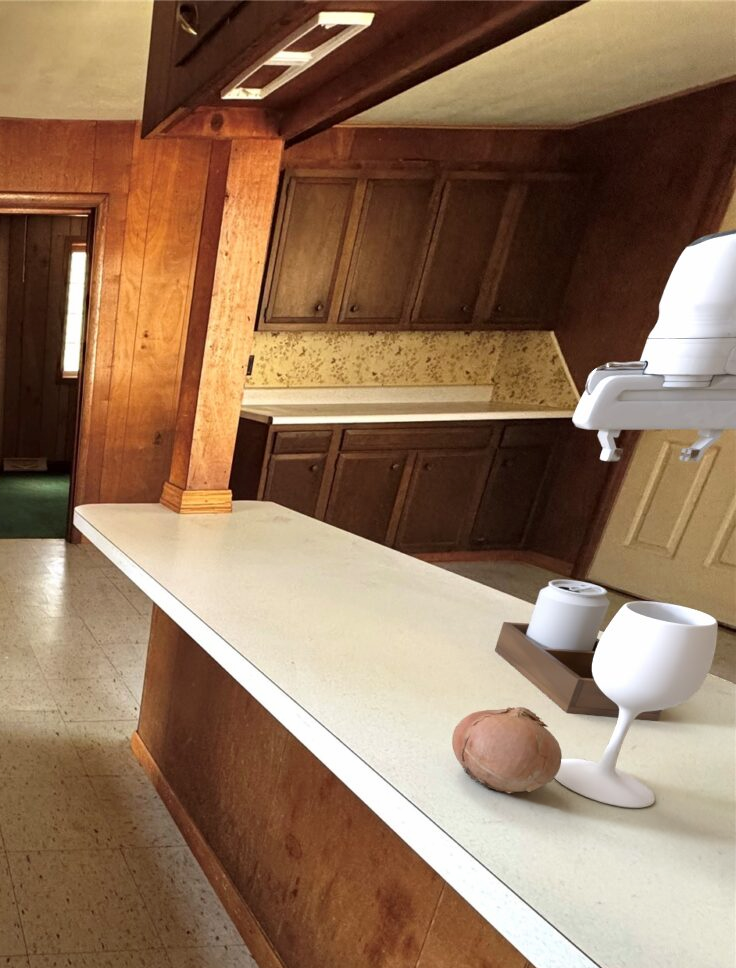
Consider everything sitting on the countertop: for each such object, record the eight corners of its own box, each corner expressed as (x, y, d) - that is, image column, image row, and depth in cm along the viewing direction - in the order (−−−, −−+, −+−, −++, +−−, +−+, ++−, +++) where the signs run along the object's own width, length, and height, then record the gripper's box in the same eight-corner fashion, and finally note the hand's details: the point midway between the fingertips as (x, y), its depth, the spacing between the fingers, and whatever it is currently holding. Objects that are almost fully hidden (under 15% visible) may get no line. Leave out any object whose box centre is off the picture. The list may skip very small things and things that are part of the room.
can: (507, 649, 103) (529, 577, 98) (557, 648, 102) (582, 576, 98) (546, 672, 96) (573, 595, 91) (600, 671, 95) (630, 594, 91)
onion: (491, 787, 79) (529, 711, 78) (562, 821, 70) (606, 736, 69) (417, 759, 79) (454, 683, 78) (477, 789, 70) (520, 703, 69)
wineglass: (617, 816, 70) (695, 636, 62) (529, 768, 77) (588, 603, 70) (675, 799, 72) (757, 623, 64) (583, 754, 79) (646, 592, 72)
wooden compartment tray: (569, 655, 103) (579, 626, 101) (657, 720, 85) (672, 687, 84) (494, 650, 105) (503, 621, 103) (566, 712, 88) (578, 679, 86)
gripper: (608, 363, 91) (575, 463, 96) (800, 359, 86) (754, 465, 91) (580, 361, 97) (550, 456, 102) (758, 357, 91) (717, 457, 96)
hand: (648, 460), depth 96 cm, fingers open, 8 cm apart
